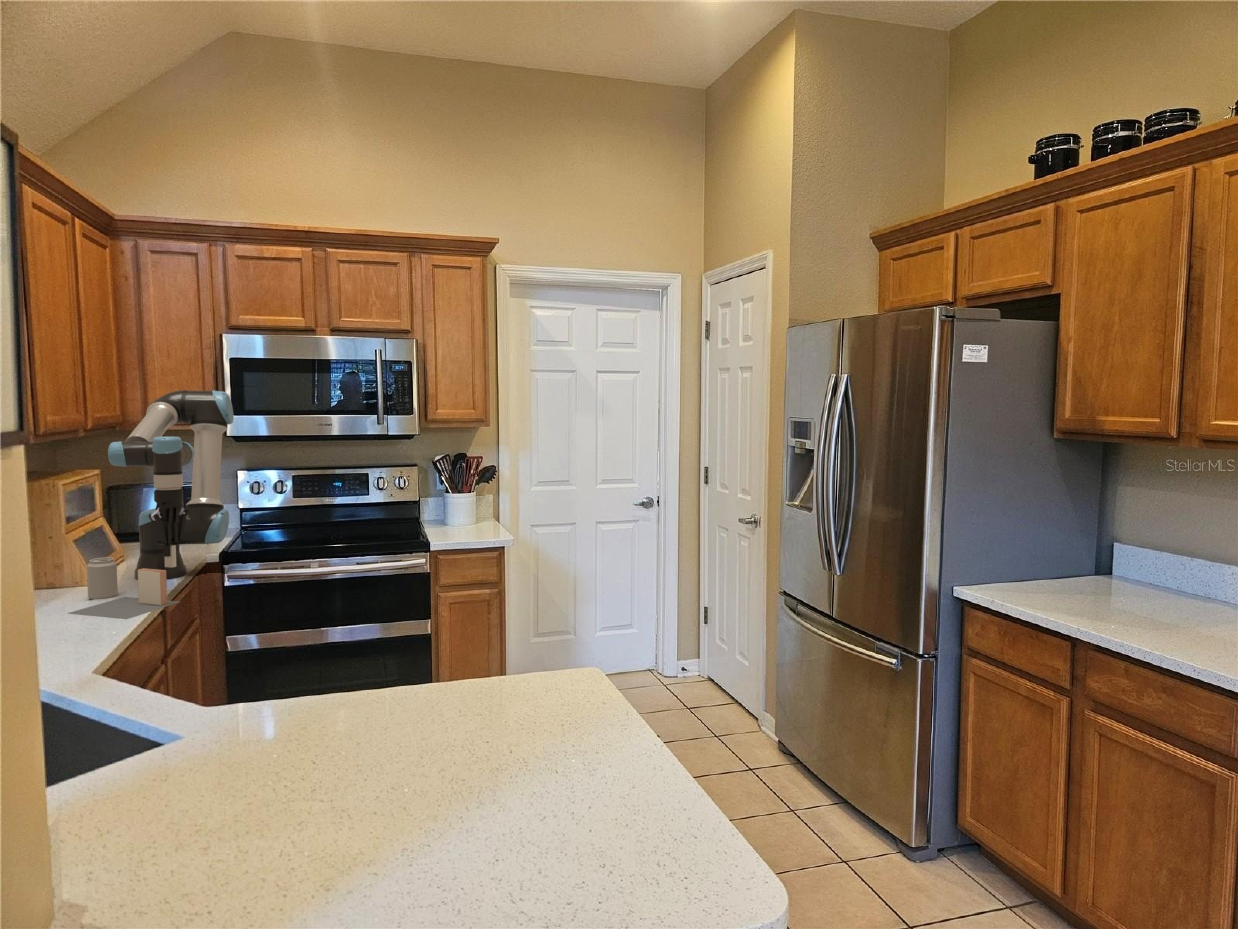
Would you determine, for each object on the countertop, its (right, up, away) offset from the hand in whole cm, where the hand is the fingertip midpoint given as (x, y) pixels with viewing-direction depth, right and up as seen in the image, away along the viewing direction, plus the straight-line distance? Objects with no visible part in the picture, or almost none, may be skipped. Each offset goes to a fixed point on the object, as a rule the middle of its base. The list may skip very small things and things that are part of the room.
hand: (170, 566), depth 232 cm
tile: (-2, -10, -6) cm, 12 cm away
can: (-22, -10, +2) cm, 24 cm away
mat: (-7, -11, -10) cm, 16 cm away
